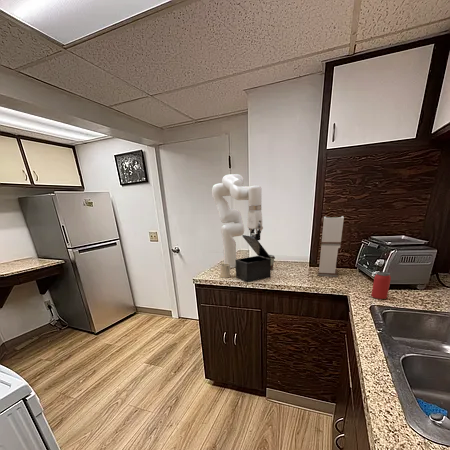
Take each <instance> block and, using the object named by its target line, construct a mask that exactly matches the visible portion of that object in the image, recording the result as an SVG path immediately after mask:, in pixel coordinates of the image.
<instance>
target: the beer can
mask: <svg viewBox="0 0 450 450" xmlns="http://www.w3.org/2000/svg"><path fill="white" fill-rule="evenodd" d="M391 280H392V277H391V273H390V272H386V271H378V272H376V273H375V276H374V278H373V282H372V289H371V298H373V299H376V300H386V299H387V298H388V295H389V290H390V286H391Z"/></svg>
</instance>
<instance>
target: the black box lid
mask: <svg viewBox="0 0 450 450" xmlns="http://www.w3.org/2000/svg"><path fill="white" fill-rule="evenodd" d="M255 234H256V232H255V233H251V236H250V235H246V234H245V235H244V234H243V235H241V236H242V238H243V239H244V241H245V242H246V243H247V244H248V246H250V248H251V249H252V250H253V251H254V253H255V254H256V256H262V257H266V258H269V259H271V257H270V256H269V255H270V254H269V253H268V252H267V250H266V249H265V248H264V246H263V245H262V243H260V240H257V239H256V236H255ZM252 236H254V237H252Z"/></svg>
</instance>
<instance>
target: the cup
mask: <svg viewBox="0 0 450 450" xmlns="http://www.w3.org/2000/svg"><path fill="white" fill-rule="evenodd" d="M219 267H220V277H221V278H223V279H226V278H227V279H228V278H230V277H231V268H230V264H224V263H222V264H220V265H219Z"/></svg>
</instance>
